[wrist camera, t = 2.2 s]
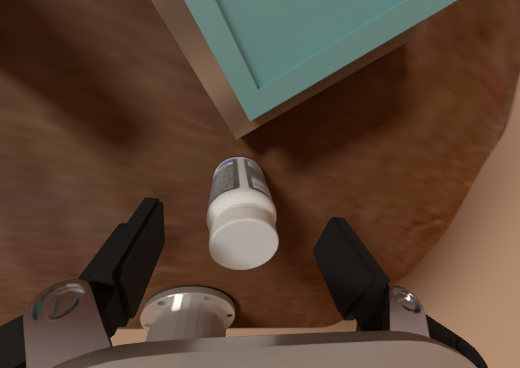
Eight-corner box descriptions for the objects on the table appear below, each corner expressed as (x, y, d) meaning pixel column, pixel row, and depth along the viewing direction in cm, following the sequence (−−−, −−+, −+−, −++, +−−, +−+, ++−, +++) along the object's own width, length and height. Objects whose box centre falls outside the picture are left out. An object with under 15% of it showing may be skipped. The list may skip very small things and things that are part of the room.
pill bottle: (215, 200, 19) (205, 278, 11) (211, 155, 16) (194, 217, 9) (262, 198, 19) (281, 271, 12) (265, 155, 17) (289, 212, 10)
